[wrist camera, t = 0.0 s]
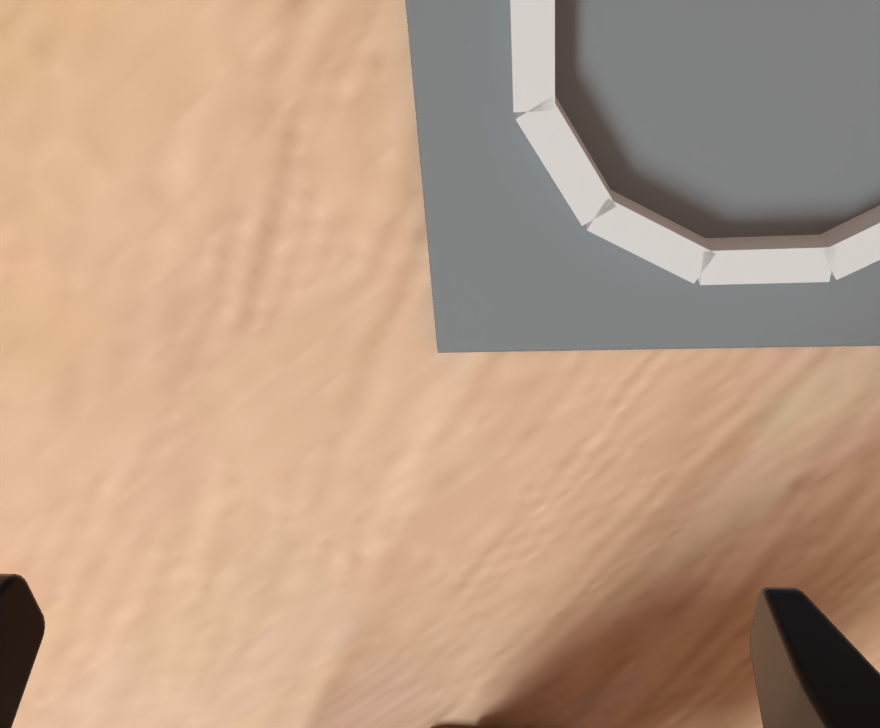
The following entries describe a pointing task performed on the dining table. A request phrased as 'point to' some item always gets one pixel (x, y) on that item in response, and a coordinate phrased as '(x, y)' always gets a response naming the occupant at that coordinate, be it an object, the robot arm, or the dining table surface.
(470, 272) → the ring mat
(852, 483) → the dining table surface
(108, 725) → the dining table surface
